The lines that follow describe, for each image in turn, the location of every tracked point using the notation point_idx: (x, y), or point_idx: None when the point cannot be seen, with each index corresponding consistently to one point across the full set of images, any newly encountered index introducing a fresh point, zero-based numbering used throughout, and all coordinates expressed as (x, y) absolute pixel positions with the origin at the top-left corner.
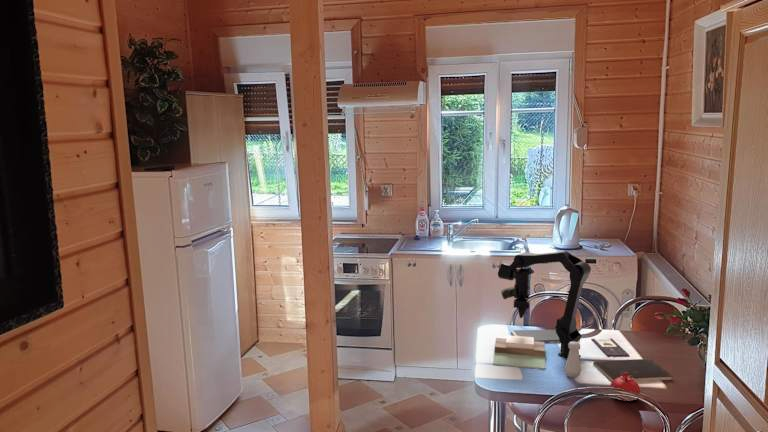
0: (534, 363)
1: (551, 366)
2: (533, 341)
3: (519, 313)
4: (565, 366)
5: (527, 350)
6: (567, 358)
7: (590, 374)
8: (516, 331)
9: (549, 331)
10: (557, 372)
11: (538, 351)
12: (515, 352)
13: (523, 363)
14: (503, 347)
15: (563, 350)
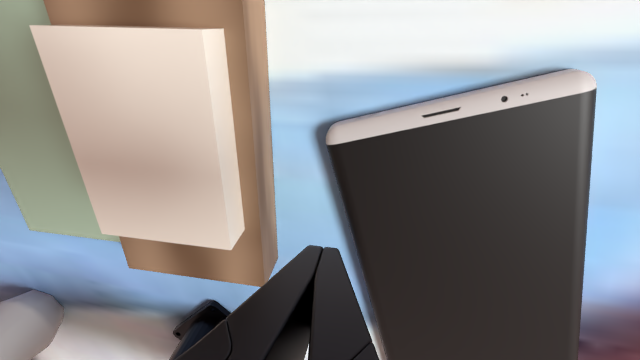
0: (48, 189)
1: (79, 253)
2: (152, 239)
3: (263, 294)
4: (8, 310)
5: None
6: (180, 324)
7: (86, 352)
8: (550, 122)
9: (534, 333)
10: (37, 263)
11: None
12: None
13: (15, 135)
14: (46, 1)
15: (187, 340)
